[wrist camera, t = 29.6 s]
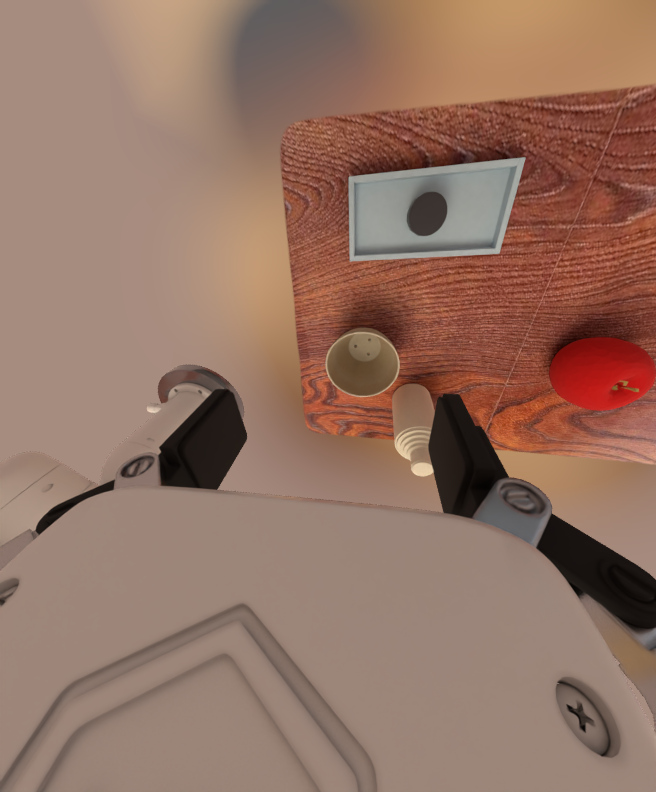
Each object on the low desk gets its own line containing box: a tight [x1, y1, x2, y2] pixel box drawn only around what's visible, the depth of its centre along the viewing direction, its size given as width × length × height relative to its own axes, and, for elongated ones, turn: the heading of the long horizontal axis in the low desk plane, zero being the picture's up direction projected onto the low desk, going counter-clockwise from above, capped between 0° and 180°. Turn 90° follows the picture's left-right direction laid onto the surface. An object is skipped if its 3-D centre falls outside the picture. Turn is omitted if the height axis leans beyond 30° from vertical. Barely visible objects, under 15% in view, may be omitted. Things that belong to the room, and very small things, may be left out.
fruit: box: [549, 337, 656, 411], centre depth 32 cm, size 9×9×10 cm
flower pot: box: [326, 328, 400, 397], centre depth 37 cm, size 10×10×7 cm
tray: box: [348, 157, 526, 261], centre depth 29 cm, size 17×8×2 cm, turn 94°
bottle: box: [392, 383, 435, 476], centre depth 38 cm, size 6×6×16 cm
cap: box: [407, 192, 448, 236], centre depth 28 cm, size 4×4×3 cm
